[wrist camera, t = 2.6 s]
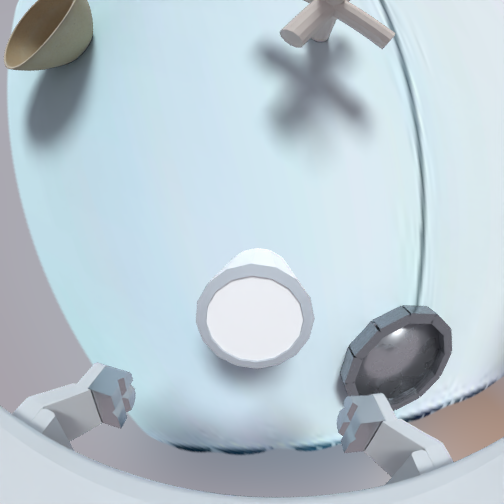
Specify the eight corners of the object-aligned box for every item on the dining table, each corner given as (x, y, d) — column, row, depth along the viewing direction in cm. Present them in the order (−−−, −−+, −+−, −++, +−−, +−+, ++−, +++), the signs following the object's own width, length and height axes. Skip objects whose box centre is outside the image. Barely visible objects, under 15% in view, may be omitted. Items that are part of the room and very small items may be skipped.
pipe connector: (338, 103, 18) (387, 47, 9) (236, 41, 17) (218, -35, 8) (389, 38, 16) (438, -16, 7) (299, -16, 15) (310, -84, 6)
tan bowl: (107, -3, 16) (78, -32, 9) (118, 48, 18) (79, 16, 11) (42, 45, 17) (7, 28, 10) (45, 101, 19) (0, 89, 12)
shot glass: (230, 227, 21) (214, 246, 14) (313, 257, 21) (334, 288, 14) (205, 304, 23) (183, 348, 16) (281, 330, 23) (286, 381, 16)
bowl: (457, 306, 22) (466, 313, 20) (419, 396, 24) (424, 405, 23) (360, 302, 22) (367, 311, 20) (328, 403, 25) (331, 415, 23)
